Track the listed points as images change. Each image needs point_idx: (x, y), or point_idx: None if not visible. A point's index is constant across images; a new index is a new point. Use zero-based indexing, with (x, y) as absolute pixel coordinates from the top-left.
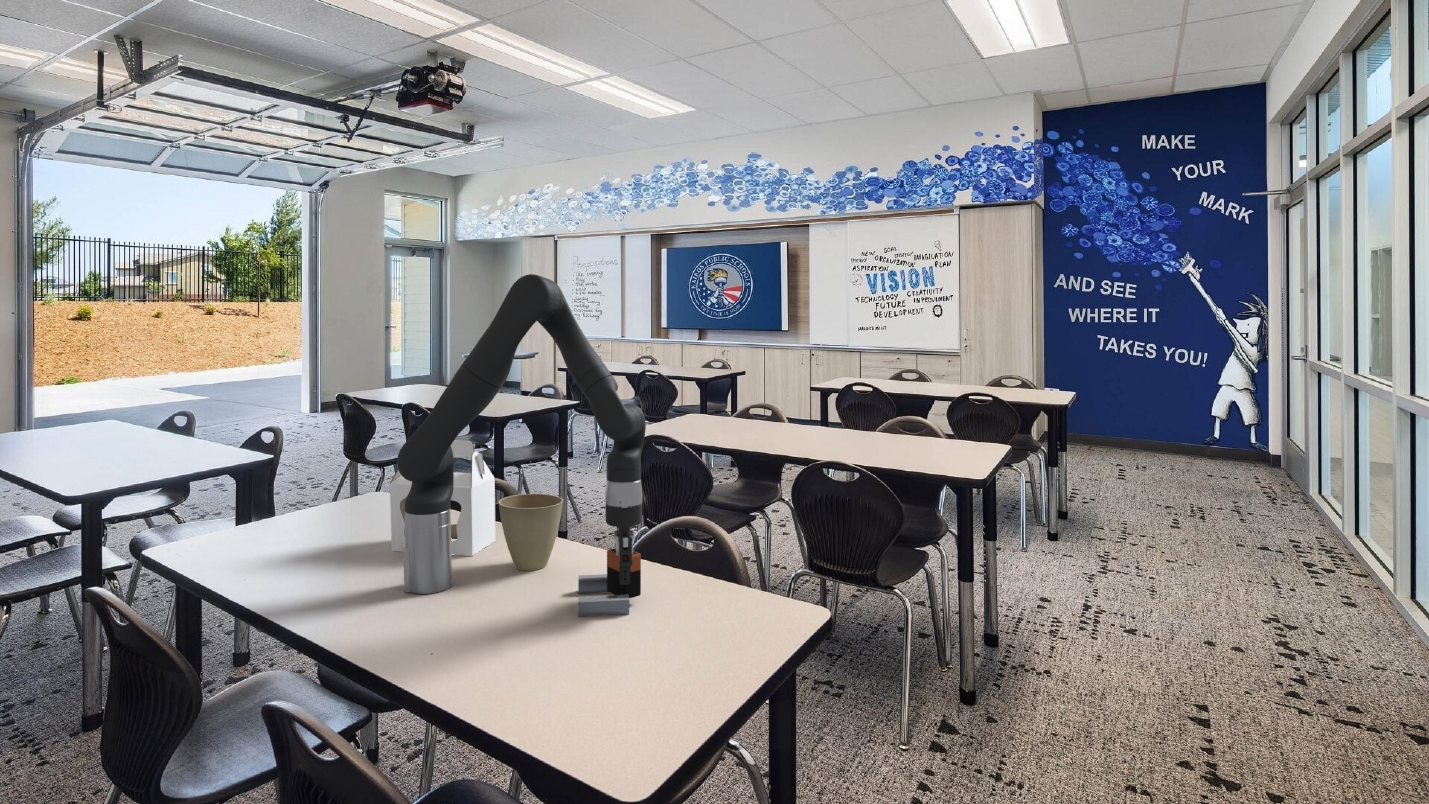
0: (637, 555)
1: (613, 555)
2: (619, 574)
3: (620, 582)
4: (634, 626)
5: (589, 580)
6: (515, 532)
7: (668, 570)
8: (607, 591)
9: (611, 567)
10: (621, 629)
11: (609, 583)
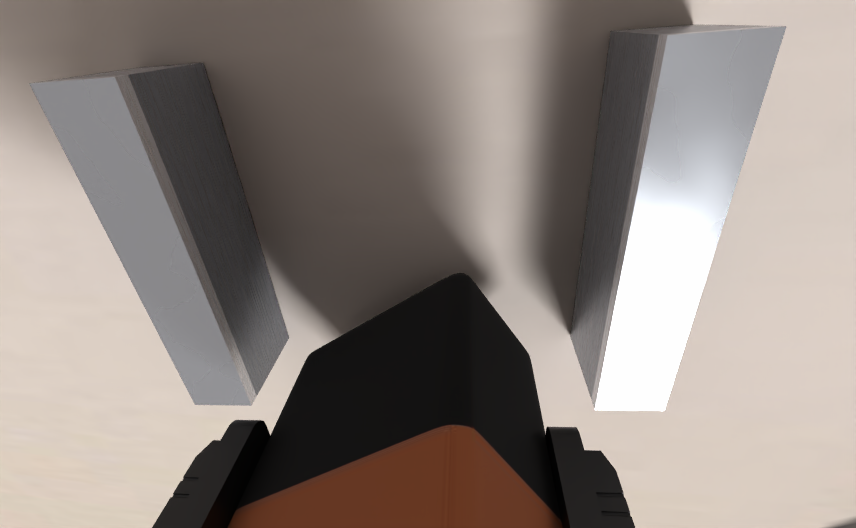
0: None
1: None
2: (212, 485)
3: (231, 432)
4: (111, 349)
5: (632, 154)
6: None
7: (825, 511)
8: (584, 249)
9: (371, 459)
10: (57, 301)
11: (422, 325)
